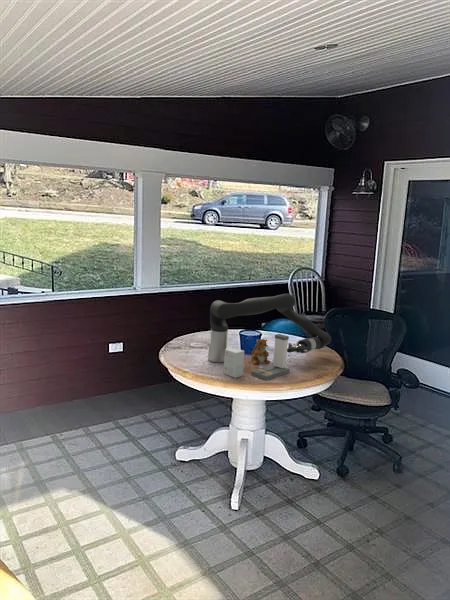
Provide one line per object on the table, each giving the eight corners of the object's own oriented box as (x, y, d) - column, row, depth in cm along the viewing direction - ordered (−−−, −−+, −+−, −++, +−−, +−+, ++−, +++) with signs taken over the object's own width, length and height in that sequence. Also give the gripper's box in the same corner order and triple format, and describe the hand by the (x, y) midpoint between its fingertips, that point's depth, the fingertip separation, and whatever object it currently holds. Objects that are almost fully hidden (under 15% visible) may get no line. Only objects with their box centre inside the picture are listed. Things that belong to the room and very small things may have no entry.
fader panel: (274, 367, 268) (275, 363, 268) (289, 372, 262) (290, 368, 261) (250, 374, 254) (251, 370, 253) (266, 380, 247) (266, 376, 247)
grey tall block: (276, 364, 266) (278, 333, 263) (286, 367, 261) (288, 336, 258) (272, 365, 263) (274, 334, 260) (282, 368, 259) (284, 337, 256)
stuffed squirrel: (254, 365, 270) (256, 341, 268) (246, 357, 284) (247, 335, 281) (271, 364, 273) (273, 341, 271) (262, 356, 286) (264, 334, 284)
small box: (243, 375, 252) (244, 350, 250) (234, 378, 247) (236, 353, 245) (231, 371, 257) (233, 347, 255) (223, 373, 253) (224, 349, 250)
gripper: (297, 336, 282) (278, 341, 270) (317, 341, 274) (299, 346, 261) (296, 349, 284) (277, 354, 271) (315, 354, 275) (297, 360, 262)
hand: (288, 350), depth 266 cm, fingers closed
